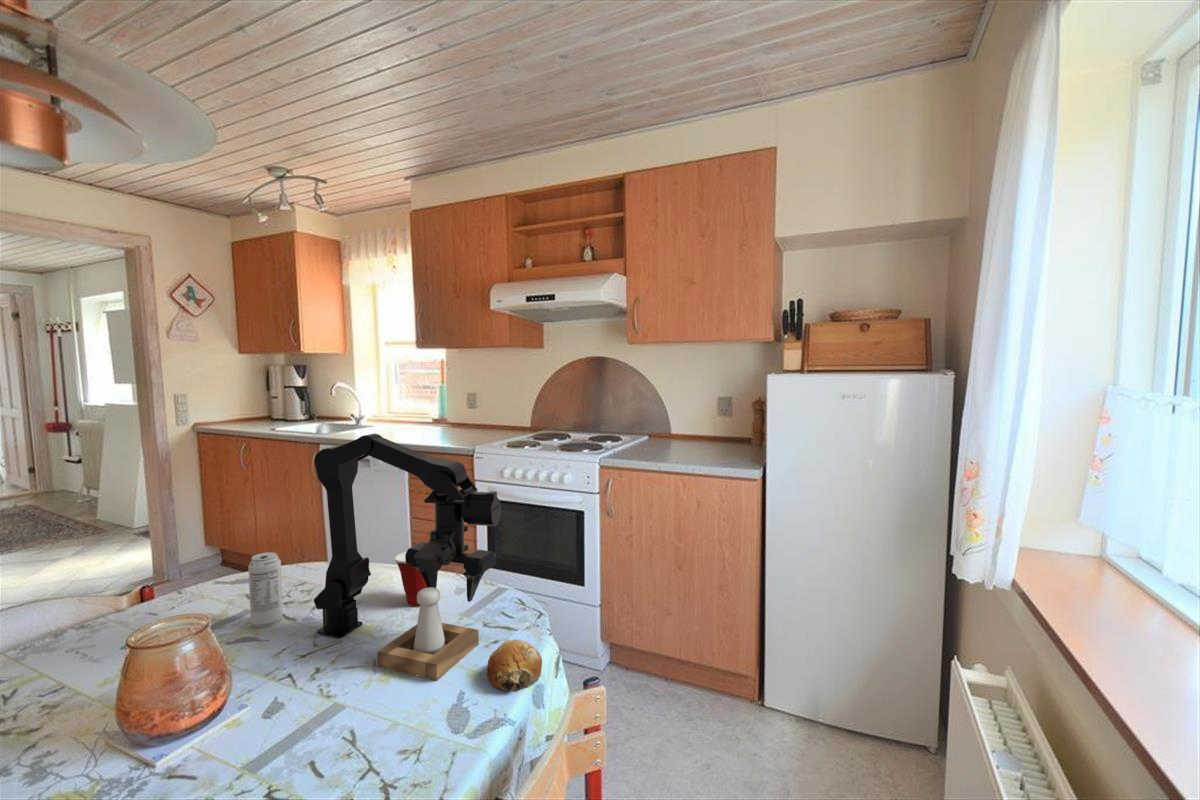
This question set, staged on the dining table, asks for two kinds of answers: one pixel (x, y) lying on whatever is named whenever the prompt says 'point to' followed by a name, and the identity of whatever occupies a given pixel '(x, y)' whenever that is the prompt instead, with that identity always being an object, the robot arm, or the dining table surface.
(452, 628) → the frame
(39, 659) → the dining table surface
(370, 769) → the dining table surface
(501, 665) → the bread roll
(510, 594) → the dining table surface
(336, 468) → the robot arm
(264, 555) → the energy drink can
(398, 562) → the plastic cup
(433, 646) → the salt shaker
